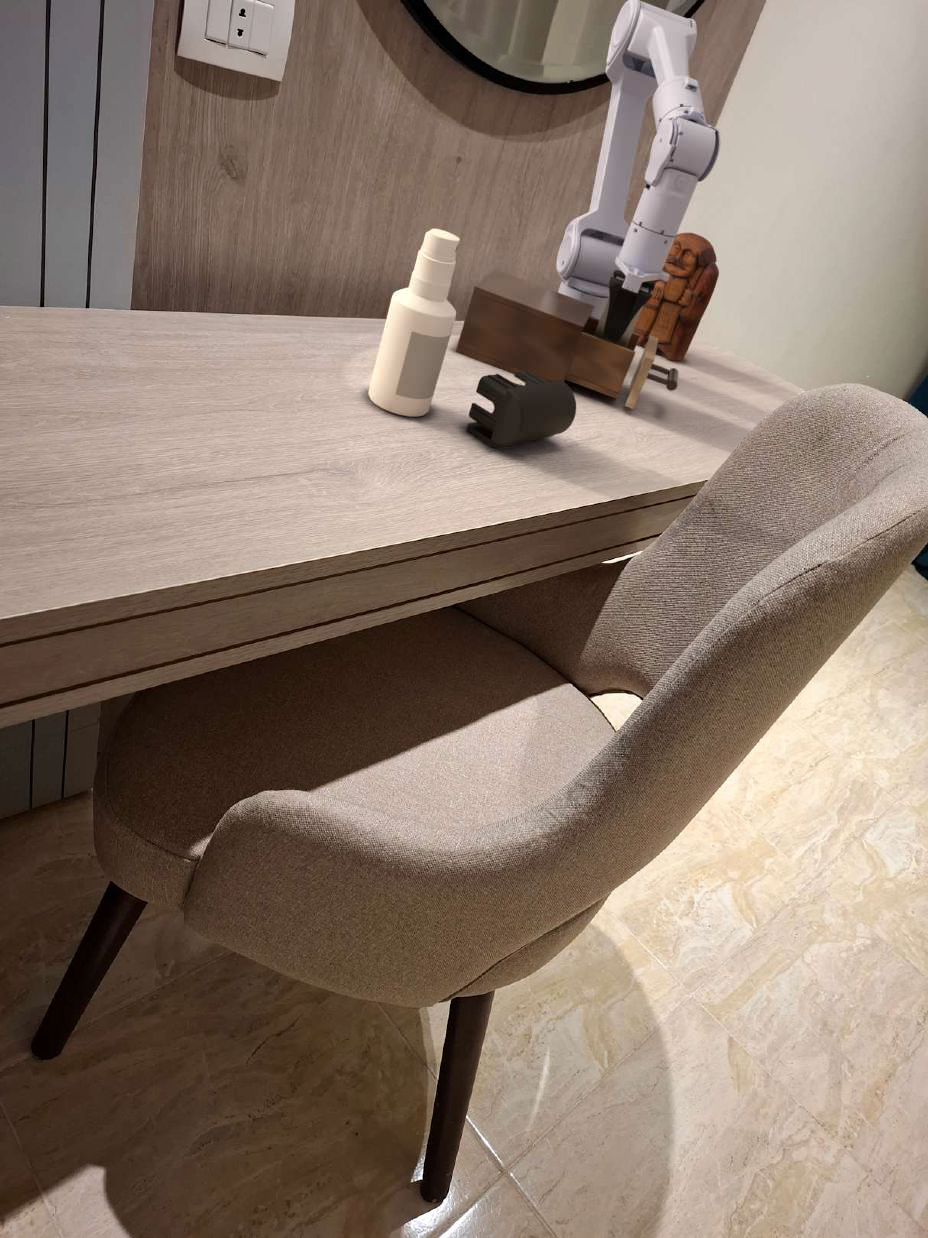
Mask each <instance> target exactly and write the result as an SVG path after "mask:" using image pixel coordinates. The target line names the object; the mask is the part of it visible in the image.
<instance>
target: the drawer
mask: <svg viewBox="0 0 928 1238" xmlns="http://www.w3.org/2000/svg"><path fill="white" fill-rule="evenodd" d="M599 320H600V319H597V318H594V317H592V316H590V317H589V319H588V321H587V323H586V325H585V327H584V329H583V331H582V334H581V336H580V339H579V342H578V345H577V347H576V350H575V353H574V355H573V358H572V361H571V364H570V366H569V369H568V372H567V374H566V377H565V381H568V382H570V383H574V384H576V385H579V386H581V387H584V388H587V389H589V390H591V391H594V392H597V393H600V394H602V395H606V396H608V397H610V398H614V399H618V397H619V394H620V393H621V392H620V391H621V389H622V387H623V385H624V382H625V380H626V377H627V376H628V372H629V369H630V367H631V364H632V362H633V360H634V358H635V355H636V351H635V350H636V347H637V346H638V345H637V342H638V340H639V337H640V334H637V333H635V332H632V334H631V337H630V339H629V342H628V344H627V347H626V348H625V347H622V346H620V345H617V344H614V343H611V342H609V341H606V340H603V339H601V338H598V337H595V336H594V333H595V331H596V328H597V325H598V323H599ZM657 343H658V338H656V337H653V336H650V337H649V340H648V342H647V345H646V347H644V349H643V351H642V352H643V353H642V354H641V357H640V359H639V362H638V364H637V366H636V369H635V372H634V374H633V376H632V379H631V381H630V385H629V389H628V393H627V396H626V400H625V404H624V407H627V408H629V409H632V410H634V409H635V407H636V404H637V402H638V399H639V397H640V395H641V392H642V390H643V388H644V385H645V383H646V382H647V380H651V381H653V382H656V383H659V384H661V385H662V386H663V385H664V386H665V387H666V389H667V390H668V391H670V392H672V391H673V392H674V391H675V390H676V389H677V388H678V381H679V370H678V369H677V368H675V367H672V368H670V369H668V368H665V367H663V366H660V365H658V364H655V363H654V361H655V359H656V354H657V353H656V348H657ZM651 370H653V371H655V372H658V373H661V374H664V375H665V376H667V377H666V378H664V377H661V376H658V375H655V374H653V373H650V371H651Z"/></svg>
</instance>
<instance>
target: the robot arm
mask: <svg viewBox="0 0 928 1238" xmlns="http://www.w3.org/2000/svg"><path fill="white" fill-rule="evenodd" d="M697 39H698V27H697V22H696V20H694V19H693V18H690V17H689V18H687V17H685V16H681V15H679V14H676V13H674V12H671V11H669V10H665V9H663V8H660V7H657V6H655V5H652V4H650V3H647V2H644V1H642V0H627V1H625V2H624V4H623V6H622V7H621V9H620V11H619V12H618V15H617V18H616V20H615V22H614V25H613V28H612V30H611V35H610V41H609V46H608V51H607V57H606V66H605V74H606V77H607V78H608V79H609V81H610V83H611V85H612V86H611V94H610V99H609V106H608V110H607V116H606V121H605V127H604V131H603V135H602V136H603V137H602V142H601V147H600V153H599V158H598V162H597V168H596V172H595V178H594V184H593V189H592V194H591V199H590V205H589V210H588V211H587V212H586V213H584V214H581V215H579V216H577V217H576V218H574V219H572V220H571V221H570V222H569V224H568V225H567V226H566V228H565V230H564V233H563V234H564V235H563V238H562V241H561V243H560V246H559V249H558V251H557V257H556V263H555V266H556V272H557V274H558V276H559V278H561V282H560V284H559V288H558V291H557V292H558V293H561V294H563V295H566V296H569V297H571V298H574V299H577V300H579V301H582V302H585V303H587V304H590V305H593V306H594V309H593V312H592V314H591V316H592V317H594V318H597V319H600V317H601V315H602V312H603V309H604V307H605V304H606V301H607V299H608V296H609V308H608V313H607V318H606V322H605V327H604V337H606V338H609V339H611V340H614V341H617V342H618V341H619V340H620V339H621V337H622V336H623V334H624V333H625V331H626V329H627V328H628V326H629V324H630V322H631V321H632V319H633V318H634V316H635V315H636V313H637V312H638V311H639V310H640V308H641V307H642V306H643V305H644V304H645V303H646V302H648V301H649V299H650V298H651V297H652V294H651V293H649V292H650V291H651V290H652V289H654V287H655V282H654V281H653V280H659V279H660V280H663V281H668V279H669V276H670V274H668V273H666V272H663V271H662V269H663V267H664V264H665V262H666V259H667V257H668V254H669V252H670V249H671V247H672V244H673V242H674V239H675V237H676V235H678V232H679V229H680V228H681V224H682V222H683V220H684V217H685V215H686V212H687V210H688V207H689V205H690V202H691V200H692V198H693V195H694V192H695V190H696V187H697V186H698V183H700V182H703V181H704V180H705V179H707V177H708V176H709V175H710V174H711V172H712V171H713V169H714V167H715V165H716V162H717V161H718V157H719V155H720V150H721V145H722V144H721V143H722V141H721V139H722V138H721V130H720V129H719V128H717V127H715V126H712V125H711V124H709V123H707V120H706V114H705V110H704V104H703V98H702V94H701V89H700V85H699V81H698V80H697V79H695V78H692V77H690V73H689V72H690V71H689V69H690V68H689V60H690V59H691V57H692V55H693V52H694V49H695V46H696V42H697ZM651 97H652V110H653V111H652V112H653V117H654V125H655V131H656V133H655V136H654V138H653V141H652V144H651V146H650V147H651V148H650V154H649V160H648V164H647V167H646V170H645V173H644V181H646V182H645V185H644V188H643V191H642V193H641V196H640V198H639V201H638V204H637V206H636V209H635V212H634V214H633V217H632V220H631V222H630V225H629V224H628V222H627V221H626V219H625V218H624V217H625V212H626V211H625V210H626V205H627V201H628V196H629V191H630V185H631V182H632V181H631V180H632V175H633V171H634V165H635V160H636V156H637V151H638V145H639V141H640V134H641V131H642V125H643V120H644V115H645V110H646V105H647V101H648V100H649V98H651ZM617 276H618V277H620V278H623V279H624V278H625V277H626V278H625V281H623V280H620V279H617V278H616V277H617ZM641 283H642V286H645V287H647V288H649V291H648V292H645V291H642V290H640V286H641Z"/></svg>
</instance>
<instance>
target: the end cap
mask: <svg viewBox="0 0 928 1238" xmlns="http://www.w3.org/2000/svg"><path fill="white" fill-rule="evenodd" d="M513 377H515V378H516V379H518V380H519V381H522V382H523V383H525V384H519V383H516V382H513V381H511V380H509V378H506V377H504V376H503V375H501V374H499V373H495V374H487V375H482V377H480V379H479V380H478V384H477V387H476V390H475V393H476V394H478V395H480V396H481V397H483V398H484V399H486V400H487V401H489V402H491V403H492V404H493V411H492V412H490V411H488V410H487V409H485V408H484V407H482V406H480V405H479V404H478V403H476V402H472V403H471V406H470V409H469V413H468V417H469V419H471V420H473V421H474V422H469V423H467V426H466V431H467V432H468V433H470V434H471V435H473V436H474V437H476V438H477V439H478V440H480V441H482V442H483V443H485V444H486V445H488V446H489V447H493V448H495V449H497V448H502V447H506V446H512V445H517V444H521V443H526V442H532V441H537V440H542V439H546V438H551V437H554V436H556V435H560V434H562V433H564V432H566V431H567V430H568V429H570V427H571V426H572V424H573V422H574V420H575V418H576V414H577V401H576V396H575V395H574V391H572V389H571V387H570V386H569V385H568V384H567V383H566V382H563V381H558V382H551V383H549V382H547V381H545V380H544V379H542V378H540V377H539V376H537V375H535V374H534V373H532V372H530V371H528V370H527V371H523V372H521V371H520V372H515V373H514V375H513Z"/></svg>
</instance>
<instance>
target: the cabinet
mask: <svg viewBox="0 0 928 1238" xmlns="http://www.w3.org/2000/svg"><path fill="white" fill-rule="evenodd" d="M471 294H472V295H471V298H470V302H469V305H468V309H467V312H466V315H465V317H464V318H465V319H464V322H463V326H462V329H461V332H460V335H459V340H458V343H457V346H456V349H455V352H456V353H459V354H462V355H464V356H468V357H469V358H472V359H475V360H478V361H480V362H483V363H486V364H489V365H491V366H494V367H495V368H499V369H502V370H504V371H507V372H510V373H513V374H515V372H520V371H521V372H523V371H527V370H528V371H530V372H532V373H534V374H535V375H537V376H539V377H540V378H542V379H544V380H545V381H547V382H549V383H551V382H558V381H563V382H564V383H566V380H565V377H566V374H567V372H568V369H569V366H570V364H571V361H572V358H573V355H574V353H575V350H576V347H577V345H578V342H579V339H580V336H581V334H582V331H583V329H584V327H585V325H586V323H587V321H588V319H589V317H590V316H591V314H592V312H593V309H594V306H593V305H590V304H587V303H585V302H582V301H579V300H577V299H574V298H571V297H569V296H566V295H563V294H561V293H558V291H555V290H552V289H549V288H547V287H545V286H541V285H538V284H537V283H535V282H534V283H533V282H531V281H528V280H525V279H523V278H520V277H518V276H515V275H512V274H509V273H506V272H504V271H501V270H499V269H496V268H494V269H493V270H492V271H491V272H489V273H488V274H487V275H486V276H485V277H484V278H483V279H481V280H480V281H479V282H478V283H477V284H476V285H474V288H473V291H472V293H471Z"/></svg>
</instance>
